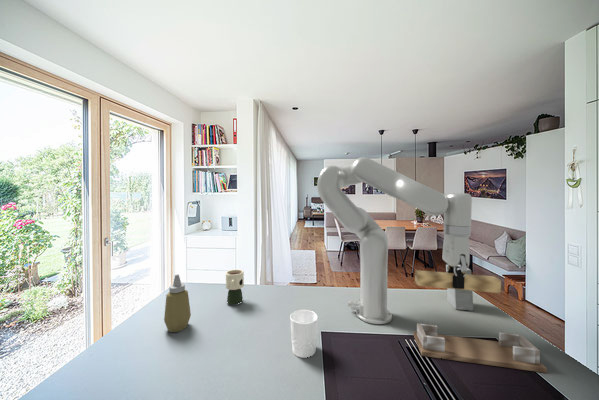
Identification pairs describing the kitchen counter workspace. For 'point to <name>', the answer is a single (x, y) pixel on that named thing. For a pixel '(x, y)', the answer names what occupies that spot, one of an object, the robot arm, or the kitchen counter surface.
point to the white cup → (303, 332)
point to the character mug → (234, 285)
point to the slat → (446, 281)
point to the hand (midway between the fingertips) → (455, 284)
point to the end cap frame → (480, 349)
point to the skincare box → (460, 296)
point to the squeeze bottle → (177, 307)
